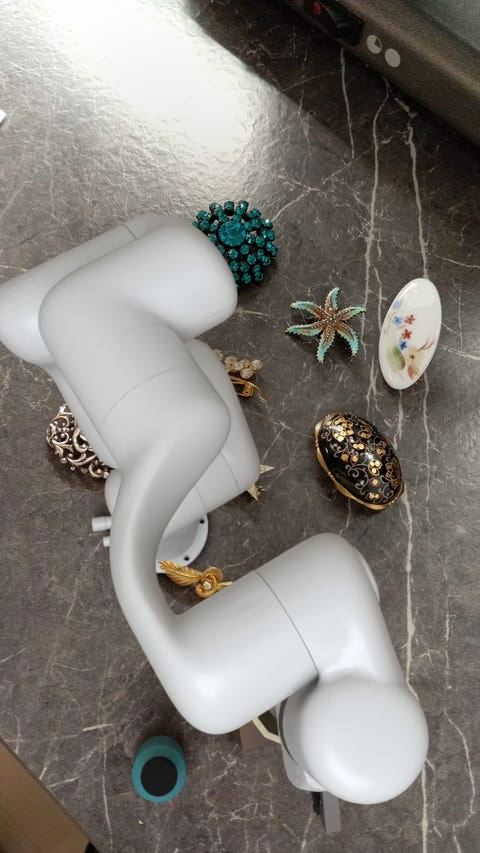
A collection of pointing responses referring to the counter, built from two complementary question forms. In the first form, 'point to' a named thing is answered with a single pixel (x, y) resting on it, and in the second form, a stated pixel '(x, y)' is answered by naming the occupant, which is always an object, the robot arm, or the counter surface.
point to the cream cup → (267, 726)
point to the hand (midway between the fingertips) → (301, 709)
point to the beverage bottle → (159, 769)
